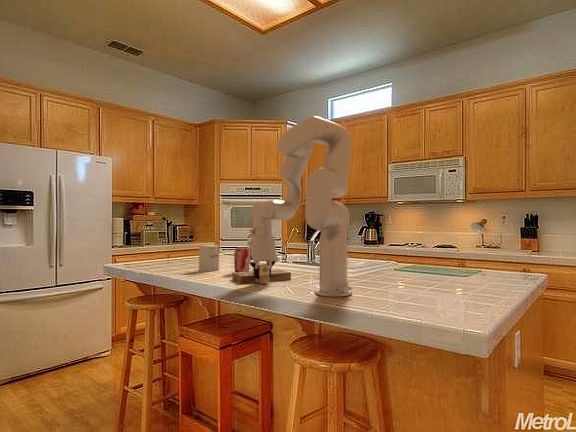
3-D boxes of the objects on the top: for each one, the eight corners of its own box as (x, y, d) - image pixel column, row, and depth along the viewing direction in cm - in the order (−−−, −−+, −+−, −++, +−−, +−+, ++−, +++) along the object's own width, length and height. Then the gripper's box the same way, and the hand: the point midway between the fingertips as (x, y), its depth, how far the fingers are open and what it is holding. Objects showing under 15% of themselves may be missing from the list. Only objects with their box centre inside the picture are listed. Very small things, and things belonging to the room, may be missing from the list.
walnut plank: (290, 279, 157) (290, 272, 157) (241, 283, 147) (241, 276, 147) (279, 275, 168) (279, 269, 168) (232, 279, 158) (232, 272, 158)
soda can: (231, 273, 176) (231, 248, 176) (238, 271, 182) (238, 247, 182) (245, 274, 173) (245, 248, 174) (251, 272, 180) (251, 247, 180)
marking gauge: (270, 283, 146) (270, 265, 146) (261, 283, 144) (261, 265, 144) (258, 278, 158) (258, 261, 158) (249, 279, 156) (249, 262, 156)
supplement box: (210, 271, 182) (210, 246, 182) (198, 271, 185) (198, 245, 185) (219, 270, 189) (219, 245, 189) (207, 269, 192) (207, 244, 192)
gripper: (245, 233, 141) (245, 281, 141) (285, 232, 149) (285, 278, 148) (239, 232, 148) (239, 278, 148) (277, 231, 155) (277, 275, 155)
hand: (262, 277), depth 148 cm, fingers closed on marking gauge, 4 cm apart
